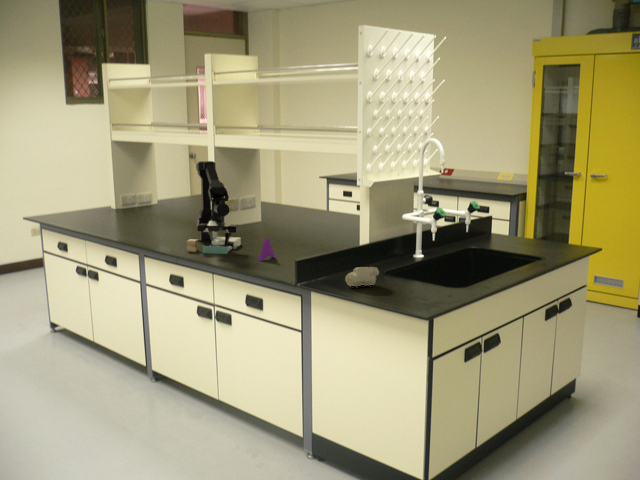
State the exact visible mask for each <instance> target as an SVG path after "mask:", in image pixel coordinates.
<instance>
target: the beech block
mask: <svg viewBox="0 0 640 480" xmlns="http://www.w3.org/2000/svg"><path fill="white" fill-rule="evenodd" d="M198 240H199V239H194V238H192V239H191V238H190V239H188V240H186V252H193V253H195V252H198V251H199V241H198Z"/></svg>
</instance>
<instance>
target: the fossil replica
mask: <svg viewBox="0 0 640 480" xmlns="http://www.w3.org/2000/svg"><path fill="white" fill-rule="evenodd" d="M379 274H380V271H379V269H378V267H375V266H369V267H368V266H366V267H365V266H363V267H362V266H360V267H355V268H354V269H353V271H351V272H349V273H347V274H346V275H345V283H346V284H347V286H349V287H351V286H361V285H373V286H374V285H375V284H376V280H377V276H379ZM361 287H362V286H361Z"/></svg>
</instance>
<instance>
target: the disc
mask: <svg viewBox="0 0 640 480" xmlns="http://www.w3.org/2000/svg"><path fill="white" fill-rule="evenodd" d="M212 245H221V246H225V240H224V239H214V240H212Z"/></svg>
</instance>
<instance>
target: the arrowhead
mask: <svg viewBox="0 0 640 480" xmlns="http://www.w3.org/2000/svg"><path fill="white" fill-rule="evenodd" d="M267 257H270V258H273V259H276V256H275V253H274V250H273V247H272V245H271V242H270V239H269V238H268V237H265V238H264V241H263V244H262V248H261V251H260V255H259V257H258V262H263V261H264V260H265V259H266V258H267Z"/></svg>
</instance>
